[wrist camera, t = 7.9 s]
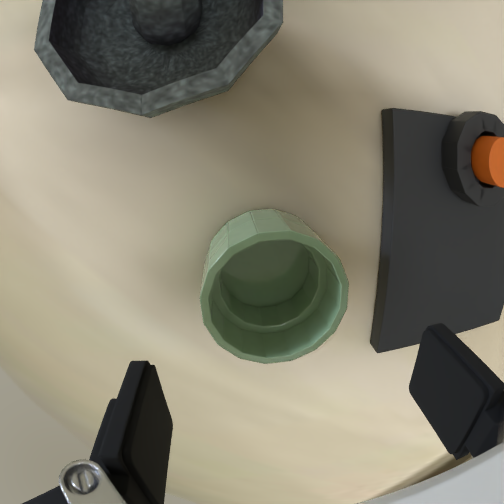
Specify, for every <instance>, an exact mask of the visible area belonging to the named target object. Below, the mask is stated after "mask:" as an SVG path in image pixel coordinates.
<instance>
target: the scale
mask: <svg viewBox="0 0 504 504" xmlns="http://www.w3.org/2000/svg"><path fill="white" fill-rule="evenodd" d="M382 123H383V160H384V182H383V219H382V238H381V253H380V265H379V276H378V286H377V295H376V304H375V312H374V319H373V327H372V334H371V340H370V343H371V345H372V346H373V348H374V349H375V351H376V352H377V353H381V352H386V351H390V350H395V349H399V348H403V347H408V346H412V345H416V344H420V342H421V338H422V334H423V332H424V331H425V330H426V328H427V326H429V325H433V324H438V323H443V324H444V325H445V326H447V327H448V328H449V329H450V330H451V331H452V332H453V333H454V334H457V333H460V332H464V331H467V330H470V329H474V328H477V327H480V326H483V325H486V324H489V323H492V322H495V321H498V320H499V319H500V316H501V312H502V309H503V305H504V188H502V187H498V186H494V185H490V184H487V183H483V182H481V181H480V180H478V179H477V177H476V176H475V174H474V172H473V170H472V166H471V150H472V147H473V144H474V142H475V141H476V140H477V139H478V138H479V137H481V136H494V137H504V124H503V123H502V122H501V121H500V119H499V118H498V117H497V116H496V115H493V114H489V113H485V112H481V111H475V112H464V113H462V114H461V115H459V116H457V117H455V116H449V115H443V114H436V113H429V112H422V111H414V110H406V109H396V108H390V109H383V110H382Z"/></svg>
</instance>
